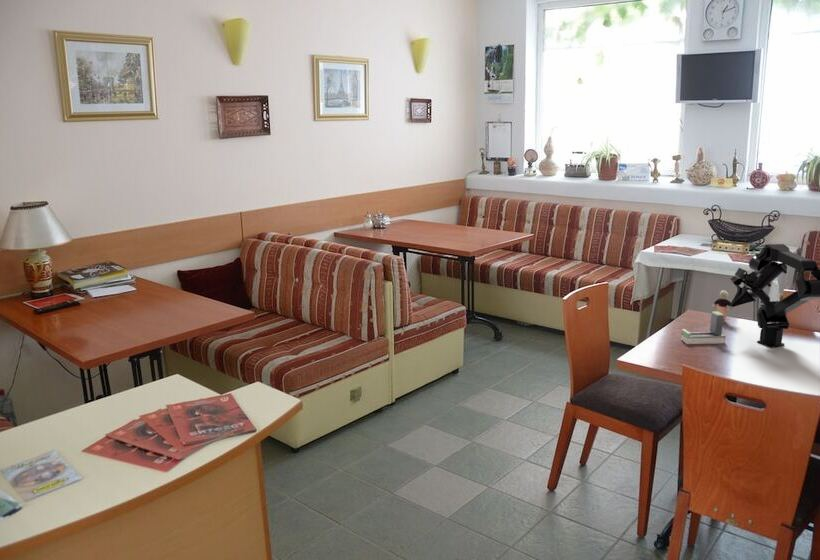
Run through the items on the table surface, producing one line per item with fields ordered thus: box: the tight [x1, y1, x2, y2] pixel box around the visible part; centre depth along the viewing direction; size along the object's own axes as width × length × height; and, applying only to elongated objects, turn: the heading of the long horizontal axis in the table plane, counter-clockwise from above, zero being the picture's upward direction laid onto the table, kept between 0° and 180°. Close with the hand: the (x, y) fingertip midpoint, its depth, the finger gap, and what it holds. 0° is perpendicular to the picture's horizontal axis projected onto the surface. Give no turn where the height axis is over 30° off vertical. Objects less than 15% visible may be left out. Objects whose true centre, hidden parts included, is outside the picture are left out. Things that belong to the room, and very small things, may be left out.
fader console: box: [680, 328, 726, 345], centre depth 252 cm, size 14×5×4 cm, turn 93°
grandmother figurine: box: [711, 289, 734, 323], centre depth 275 cm, size 8×4×13 cm, turn 68°
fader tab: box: [709, 310, 724, 335], centre depth 251 cm, size 3×4×8 cm
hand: (731, 305), depth 251 cm, fingers closed
